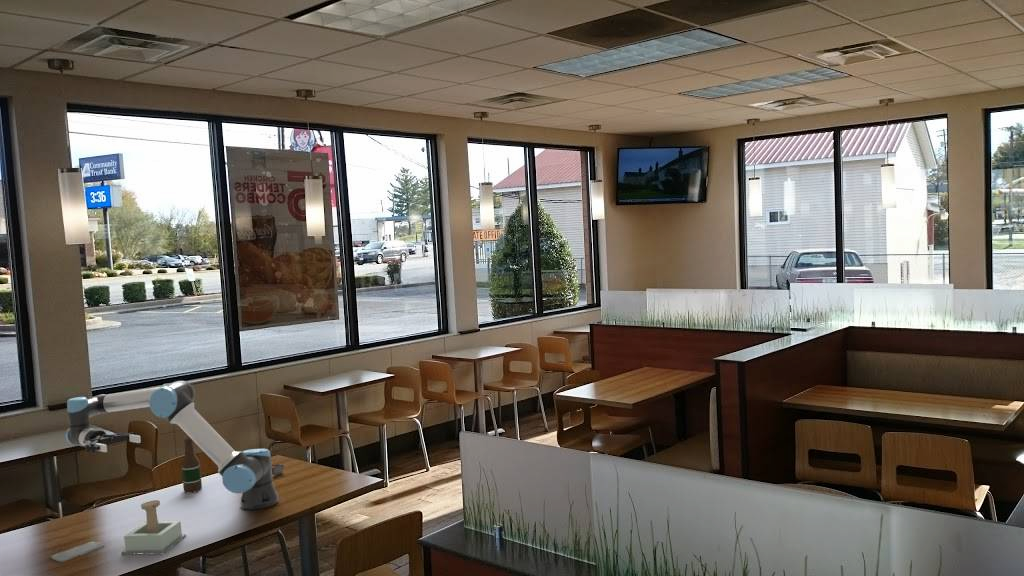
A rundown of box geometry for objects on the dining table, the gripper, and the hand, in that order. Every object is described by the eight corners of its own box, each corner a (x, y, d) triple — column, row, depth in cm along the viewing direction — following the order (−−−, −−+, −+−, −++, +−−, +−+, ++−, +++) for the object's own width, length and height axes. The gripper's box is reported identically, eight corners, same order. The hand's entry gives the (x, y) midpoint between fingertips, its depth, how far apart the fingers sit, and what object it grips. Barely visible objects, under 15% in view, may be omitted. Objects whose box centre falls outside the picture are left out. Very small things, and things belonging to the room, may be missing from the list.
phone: (105, 548, 299) (105, 544, 299) (60, 564, 286) (60, 560, 286) (94, 543, 304) (93, 540, 304) (50, 559, 291) (49, 556, 291)
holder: (186, 536, 304) (184, 519, 303) (163, 553, 288) (161, 536, 288) (146, 537, 306) (144, 520, 305) (121, 554, 290) (119, 537, 289)
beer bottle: (195, 493, 357) (190, 440, 355) (180, 493, 358) (175, 440, 357) (205, 487, 364) (201, 435, 363) (190, 487, 366) (185, 435, 364)
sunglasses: (256, 483, 367) (255, 472, 367) (238, 481, 379) (237, 470, 379) (288, 473, 379) (286, 463, 379) (269, 471, 391) (268, 461, 391)
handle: (142, 544, 296) (138, 504, 295) (159, 538, 301) (155, 499, 300) (149, 547, 293) (145, 506, 292) (165, 540, 298) (162, 501, 297)
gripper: (124, 439, 332) (153, 445, 320) (62, 456, 311) (92, 462, 299) (122, 422, 331) (152, 426, 319) (60, 437, 311) (90, 442, 299)
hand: (123, 444), depth 309 cm, fingers open, 13 cm apart
